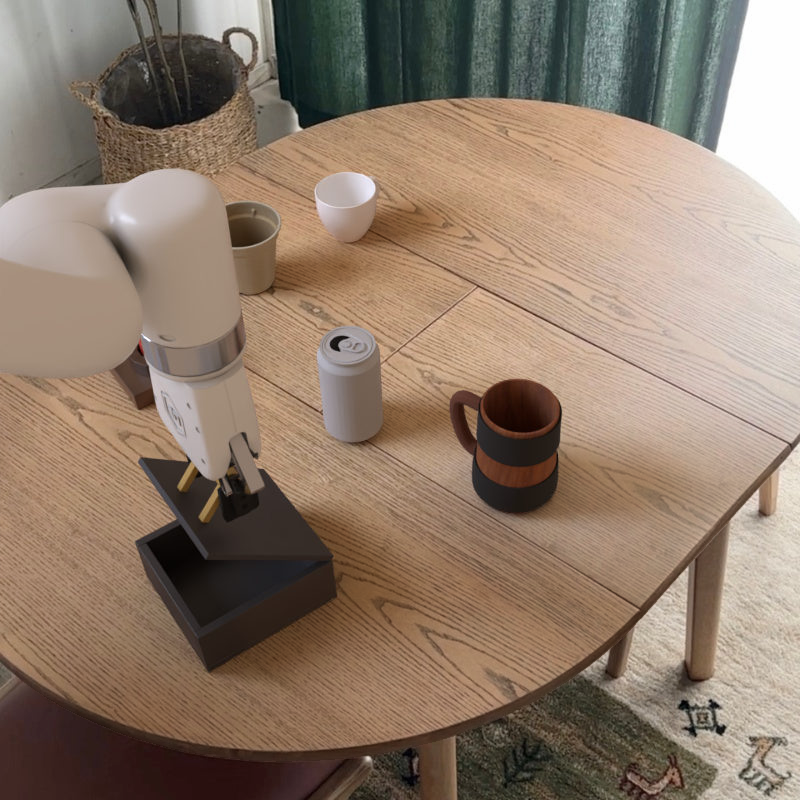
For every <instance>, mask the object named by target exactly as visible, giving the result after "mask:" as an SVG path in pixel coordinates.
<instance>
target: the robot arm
mask: <svg viewBox="0 0 800 800" xmlns="http://www.w3.org/2000/svg"><path fill="white" fill-rule="evenodd" d="M225 204H226V203H225V199H224V197H223V195H222V192H221V191H220V189H219V188H218V186H217V185H216V183H214V182H213V181H212V180H211V179H209V178H208V177H207V176H205V175H203V174H201V173H199V172H196V171H193V170H189V169H188V170H187V169H185V168H161V169H155V170H151V171H147V172H145V173H142V174H140V175H138V176H136V177H134V178H132V179H131V180H128V181H127V182H126V181H125V182H119V183H109V184H95V185H93V184H92V185H77V186H74V185H73V186H59V187H58V186H57V187H56V186H55V187H47V188H46V187H45V188H41V189H35V190H31V191H27V192H23V193H21V194H19V195H16V196H14V197H13V198H11V199H9V200H7V201H6V202H5V203H3V205H2V206H0V373H1V374H7V375H8V374H10V375H15V376H23V377H28V378H29V377H30V378H38V379H49V380H77V379H84V378H91V377H95V376H98V375H102V374H105V373H106V372H110V371H109V370H111V369H113V368H115V367H117V366H118V365H120V364H121V363H123V362H124V361H125V360H126V359H127V358H128V357H129V356H130V355H131V354H132V353H133V351H134V350H135V348H136V346H137V345H138V343H139V340H141V344H142V348H143V352H144V356H145V359H146V362H147V364H148V366H149V370H150V376H151V381H152V387H153V392H154V397H155V402H154V403H155V406H156V410H157V413H158V415H159V417H160V419H161V421H162V422H163V424H164V425H165V427H166V428H167V429H168V431H169V433H170V434H171V435H172V437H173V438H174V440H175V441H176V442H177V443H178V445H179V446H180V448H181V449H182V451H183V452H184V453H185V455H186V461H187V462H188V465H190V463H191V461H192V462H193V464H194V465H195V466H196V468H197V469H198V470H199V471H198V473H197V475H196V476H195V478H199V477H201V476H204V477H206V478H207V479H209V480H212V481H216V480H219V483H220V487H219V488H218V489H217V492H218V497H219V501H220V506H221V511H222V516H223V518H224V519H225V521H226V522H230V521H232V520H234V519H236V518H238V517H241V516H244V515H246V514H248V513H250V512H251V511H252V510H254V509H255V508H257V507H258V506H259V498H258V491H260V490H262V489H264V488H265V485H264V482H263V480H262V478H261V475H260V473H259V471H258V469H257V468H258V466H257V464H256V462H255V460H259V459H260V457H261V454H262V437H261V432H260V431H261V429H260V426H259V419H258V415H257V411H256V410H257V409H256V406H255V401H254V398H253V394H252V389H251V386H250V382H249V378H248V375H247V371H246V367H245V364H244V362H243V357H244V354H245V352H246V349H247V344H248V342H247V341H248V340H247V335H246V328H245V322H244V316H243V309H242V302H241V297H240V296H241V295H240V293H239V289H238V283H237V277H236V270H235V264H234V258H233V251H232V245H231V238H230V231H229V225H228V218H227V212H226V207H225ZM254 459H255V460H254ZM233 466H236V468H237V470H238V473H239V474H237V475H235V476H233V477H231V478H228V475H227V470H228V469H229V468H231V467H233Z"/></svg>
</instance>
